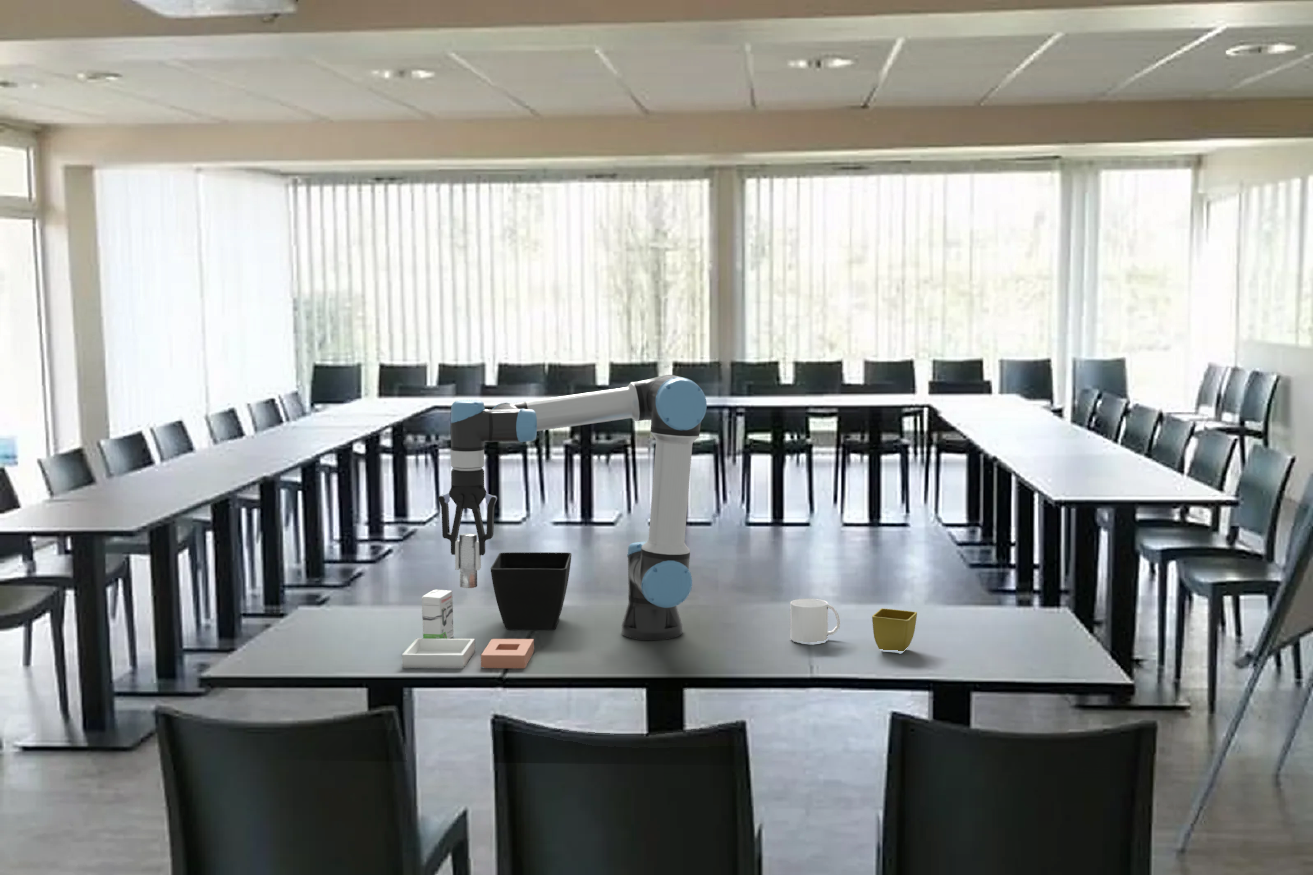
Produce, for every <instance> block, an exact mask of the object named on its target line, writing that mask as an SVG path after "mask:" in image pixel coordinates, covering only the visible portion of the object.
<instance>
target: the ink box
mask: <svg viewBox="0 0 1313 875" xmlns="http://www.w3.org/2000/svg"><path fill="white" fill-rule="evenodd" d="M453 596H454V595H453V590H449V589H448V590H446V589H433V590H431V591H429V592H427V593H426V594H424V595H422V596H421V612H422V613H421V614H422V639H452V638H453V637H454V605H453V604H454V601H453Z"/></svg>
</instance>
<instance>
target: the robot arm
mask: <svg viewBox="0 0 1313 875" xmlns="http://www.w3.org/2000/svg"><path fill="white" fill-rule="evenodd" d="M707 403H708V402H707V398H706V395H705V392H704V391H703V389H702V388H701V387H700V386H699V385H698V384H697V383H696V382H695V381H694V380H691V379H689V378H687V377H682V376H679V375H675V374H664V375H660V376H659V375H658V376H655V377H652V378H649V379H644V380H643V379H642V380H639V381H637V380H636V381H630V383H629V384H628V385H627V386H625V387H624V386H623V387H620V388H611V389H604V390H597V391H589V392H583V393H575V394H568V395H561V396H555V397H547V398H541V399H540V398H539V399H533V400H526V401H520V402H510V403H509V402H501V403H499V404H498V403H497V404H496V405H495V406H494V407H493V408H492V409H490V408H489V409H488V408H486V407H485V404H484V402H483V401H482V400H477V399H475V400H473V399H471V400H470V399H469V400H468V399H466V400H465V399H463V400H455V401H453V403H452V404H451V406H450V408H451V411H450V448H451V449H450V466H451V467H452V470H450V484H451V485H450V489H449V492H448V493H445V494H441V495H440V496H438V498H437V499H438V502H439V504H440V510H441V531H442V532H441V533H442V538H443V539H447V540H449V541H450V554H451V555H454V556H455V560H454V561H455V562H454V564H455V565H454V566H455V567H454V568H455V570H456V571H460V543H459V539H458V538H459V530H460V528H461V521H462V517H463V512H464V510H466V509H469V510H471V512H472V514H473V520H474V524H475V529H476V534H477V542H475V549H476V570H477V571H480V570H481V568H482V556H484V555H485V554H486V541H489V540H491V539H492V538H493V537H494V533H495V532H494V531H495V530H494V529H495V528H494V526H495V523H494V522H495V505H496V502H497V500H498V496H497V495H492V494H489V493H487V490H486V488H485V470H484V466H485V443H496V442H497V443H498V442H499V443H500V442H501V443H503V442H505V443H507V442H508V443H512V442H513V443H515V442H516V443H524V442H525V443H527V442H534V441H535V440H536V439H537V434H538V433H537V432H541V431H546V430H554V429H556V430H557V429H561V428H562V429H563V428H571V427H577V426H584V425H590V424H597V423H605V422H611V421H612V422H613V421H619V420H625V419H632V420H634V421H635V422H642V421H650V434H651V436H653V438H654V439H655V452H654V462H653V463H654V465H653V479H652V490H651V502H650V503H651V504H650V516H649V527H648V528H649V529H648V539H647V540H646V541H638V542H637V541H636V542H632V543H630V544H629V545H628V548H627V555H626V558H627V583H628V584H627V585H628V587H627V588H628V589H627V590H628V592H627V594H628V597H627V598H628V603H627V605H626V609H625V614H624V615H623V618H622V619H623V620H622V622H621V634H622V635H623V636H624V637H626V638H629V639H631V640H632V639H633V640H639V641H640V640H641V641H662V640H669V639H670V640H671V639H673V638H677V637H680V636H681V635H682V634H683V621H682V619H681V616H680V613H679V610H678V606H679V605H681V604H682V603H683V602H685V600H686V599H687V598H688V597H689V596H690V594H691V591H692V587H693V577H692V573H691V571H690V558H691V557H690V556H691V549H690V547H688V546H687V544H686V541H685V539H686V528H687V527H686V526H687V515H688V504H689V502H688V501H689V491H690V490H689V489H690V478H691V477H690V476H691V465H692V453H693V443H694V442H695V441H696V440H697V439H698V438H700V435H701V434H700V432H701V423H702V420H703V419H704V418H705V416H706V412H707V407H708V406H707V405H708V404H707ZM450 498H451V499H450ZM450 500H452V501H453V503H454V504H455V514H454V518H453V523H452V529H450V511H449V510H450V509H449V507H450V506H449V503H450ZM483 500H485V503H486V504H487V508H486V509H487V512H486V513H487V514H486V516H487V517H486V533H485V527H484V523H483V517H482V513H481V506H480V505H481V503H482V502H483ZM450 530H451V532H450Z"/></svg>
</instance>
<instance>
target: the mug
mask: <svg viewBox="0 0 1313 875" xmlns="http://www.w3.org/2000/svg"><path fill="white" fill-rule="evenodd" d="M789 607H790V609H789V611H790V619H789V620H790V622H789V623H790V624H789V625H790V628H789V630H790V634H789V638H791V639H792V640H794V641H803V642H817V641H824V640H826V639H827V638H828V639H829V636H832V635H834V634H836V633H837V632H838V630H840V627H841V620H840V616H839V613H838V612H837V610H836V609H835V607H834V606H833V605H830V604H829V602H828V601H826V600H824V599H820V598H819V599H817V598H798V599H793V600H791V601H790V606H789ZM829 609H830V610H832V612H833V613H834V616H835V618H836V626H835V627H834V628H833V629H832V630H829ZM827 636H828V637H827ZM791 639H790V640H791Z"/></svg>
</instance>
